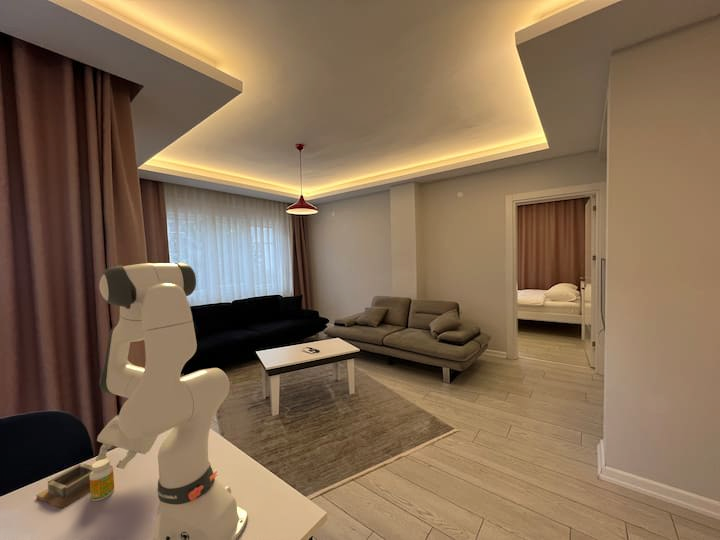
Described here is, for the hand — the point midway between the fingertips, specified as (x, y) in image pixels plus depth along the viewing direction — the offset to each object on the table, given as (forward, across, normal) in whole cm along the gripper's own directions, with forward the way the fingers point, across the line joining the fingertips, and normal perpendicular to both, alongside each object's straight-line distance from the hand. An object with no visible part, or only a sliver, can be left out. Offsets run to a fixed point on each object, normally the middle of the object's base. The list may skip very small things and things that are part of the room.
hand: (109, 464), depth 91 cm
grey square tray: (+8, -11, +3) cm, 14 cm away
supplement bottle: (+7, 0, +4) cm, 8 cm away
